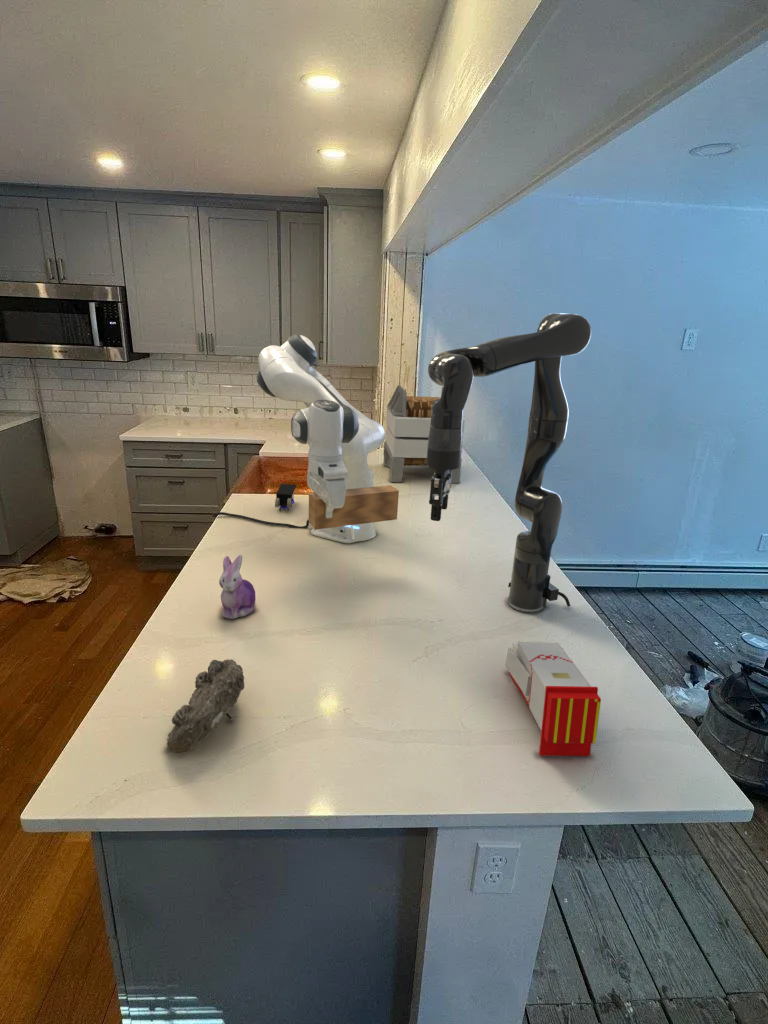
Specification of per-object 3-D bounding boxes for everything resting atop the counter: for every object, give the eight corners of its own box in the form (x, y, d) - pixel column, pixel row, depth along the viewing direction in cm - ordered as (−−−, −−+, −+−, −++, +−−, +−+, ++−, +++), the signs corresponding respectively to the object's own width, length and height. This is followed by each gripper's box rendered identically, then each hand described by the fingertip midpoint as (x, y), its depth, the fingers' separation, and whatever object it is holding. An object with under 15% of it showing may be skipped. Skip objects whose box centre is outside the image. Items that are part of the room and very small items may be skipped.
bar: (314, 529, 151) (315, 499, 148) (308, 522, 155) (308, 492, 152) (397, 519, 161) (399, 490, 158) (389, 513, 166) (390, 485, 163)
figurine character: (292, 516, 215) (297, 499, 228) (291, 498, 212) (296, 482, 225) (274, 516, 215) (280, 499, 228) (273, 498, 211) (279, 482, 225)
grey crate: (382, 463, 289) (386, 382, 275) (445, 464, 293) (451, 384, 279) (390, 482, 257) (394, 392, 243) (460, 483, 261) (468, 394, 247)
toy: (554, 624, 127) (610, 694, 97) (548, 679, 130) (602, 763, 100) (500, 623, 126) (541, 693, 97) (496, 678, 129) (534, 763, 100)
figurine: (224, 623, 139) (221, 568, 134) (215, 604, 148) (212, 552, 142) (262, 616, 143) (260, 562, 138) (251, 598, 152) (249, 546, 147)
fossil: (192, 660, 117) (244, 628, 112) (224, 691, 120) (276, 661, 115) (142, 746, 98) (202, 712, 93) (182, 779, 101) (242, 748, 96)
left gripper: (301, 454, 156) (301, 501, 161) (326, 475, 139) (325, 527, 144) (323, 452, 159) (322, 499, 164) (350, 473, 141) (348, 525, 146)
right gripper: (456, 455, 119) (449, 527, 124) (465, 441, 132) (459, 507, 137) (421, 451, 121) (416, 522, 126) (434, 438, 134) (429, 503, 139)
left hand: (324, 512), depth 153 cm, fingers closed on bar, 5 cm apart
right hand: (439, 514), depth 132 cm, fingers open, 8 cm apart
